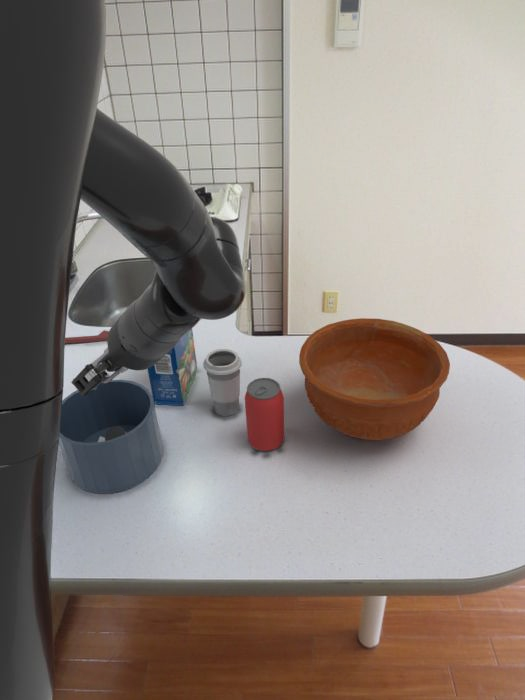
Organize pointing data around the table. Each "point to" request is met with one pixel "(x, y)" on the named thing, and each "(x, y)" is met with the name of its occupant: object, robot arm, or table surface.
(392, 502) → the table surface
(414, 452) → the table surface
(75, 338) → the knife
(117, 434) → the dark grey cylinder
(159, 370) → the blue food package
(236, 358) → the cup
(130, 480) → the bowl
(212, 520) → the table surface
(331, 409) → the bowl
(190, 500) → the table surface
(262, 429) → the beer can
